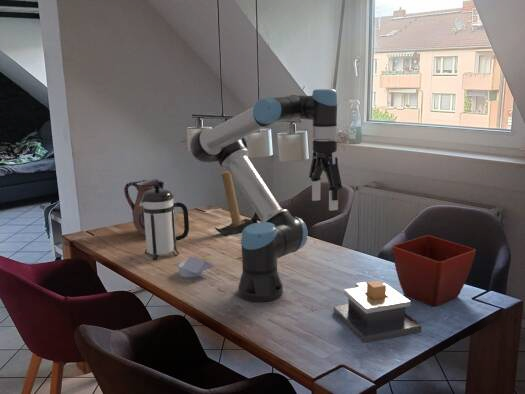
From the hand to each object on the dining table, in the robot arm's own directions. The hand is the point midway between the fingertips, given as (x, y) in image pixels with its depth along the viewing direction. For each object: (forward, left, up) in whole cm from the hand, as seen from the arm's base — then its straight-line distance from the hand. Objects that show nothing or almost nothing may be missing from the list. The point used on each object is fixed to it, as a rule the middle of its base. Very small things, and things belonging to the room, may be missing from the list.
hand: (324, 205), depth 170 cm
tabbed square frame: (+6, -24, -31) cm, 39 cm away
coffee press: (-46, +60, -31) cm, 82 cm away
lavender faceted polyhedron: (-38, +33, -31) cm, 59 cm away
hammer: (-10, +78, -31) cm, 85 cm away
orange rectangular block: (+6, -24, -29) cm, 38 cm away
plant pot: (+32, -14, -31) cm, 47 cm away
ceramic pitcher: (-49, +91, -31) cm, 108 cm away
